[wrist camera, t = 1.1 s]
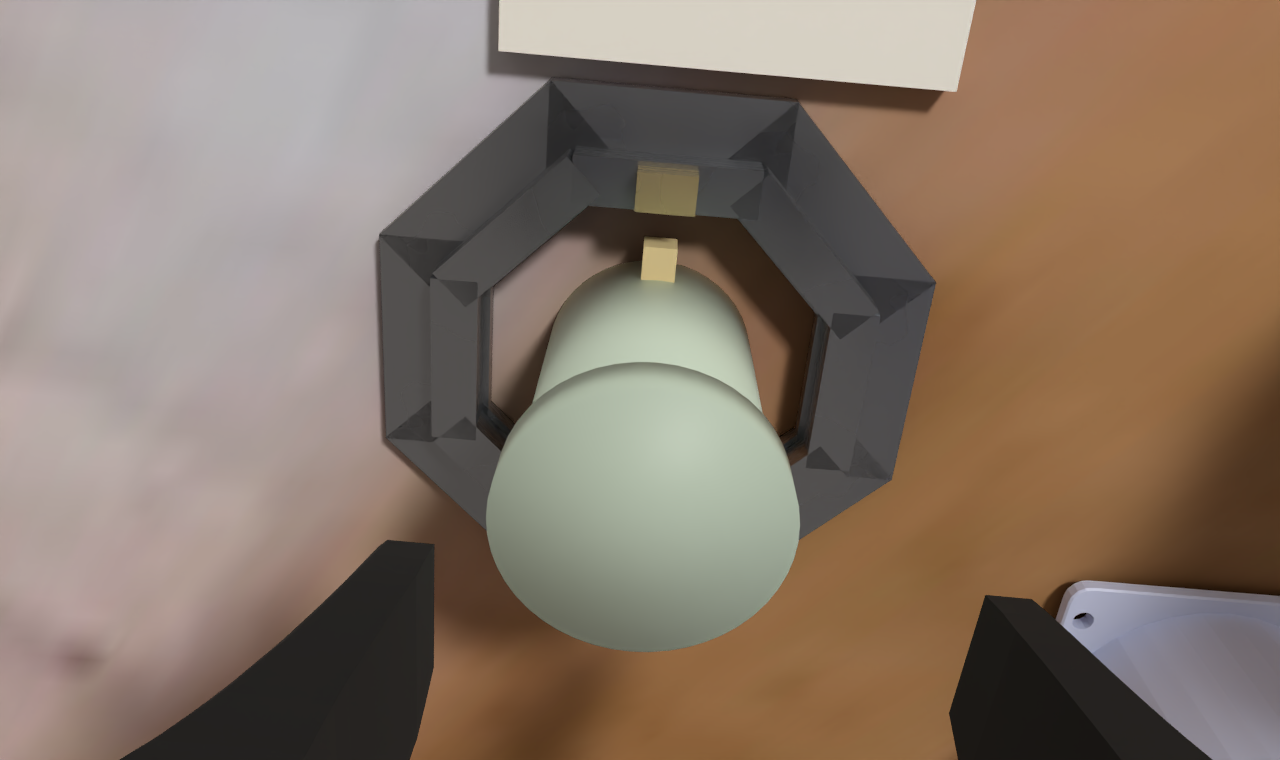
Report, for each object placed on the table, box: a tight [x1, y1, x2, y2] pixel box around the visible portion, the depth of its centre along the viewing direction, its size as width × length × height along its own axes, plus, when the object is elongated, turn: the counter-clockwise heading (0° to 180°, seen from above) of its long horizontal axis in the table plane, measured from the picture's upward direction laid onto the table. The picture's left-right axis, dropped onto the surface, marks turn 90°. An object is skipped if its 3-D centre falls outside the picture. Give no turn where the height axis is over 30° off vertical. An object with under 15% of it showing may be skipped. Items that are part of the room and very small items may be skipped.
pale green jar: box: [486, 236, 800, 652], centre depth 20 cm, size 6×5×7 cm
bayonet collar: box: [379, 77, 936, 540], centre depth 22 cm, size 12×12×2 cm
